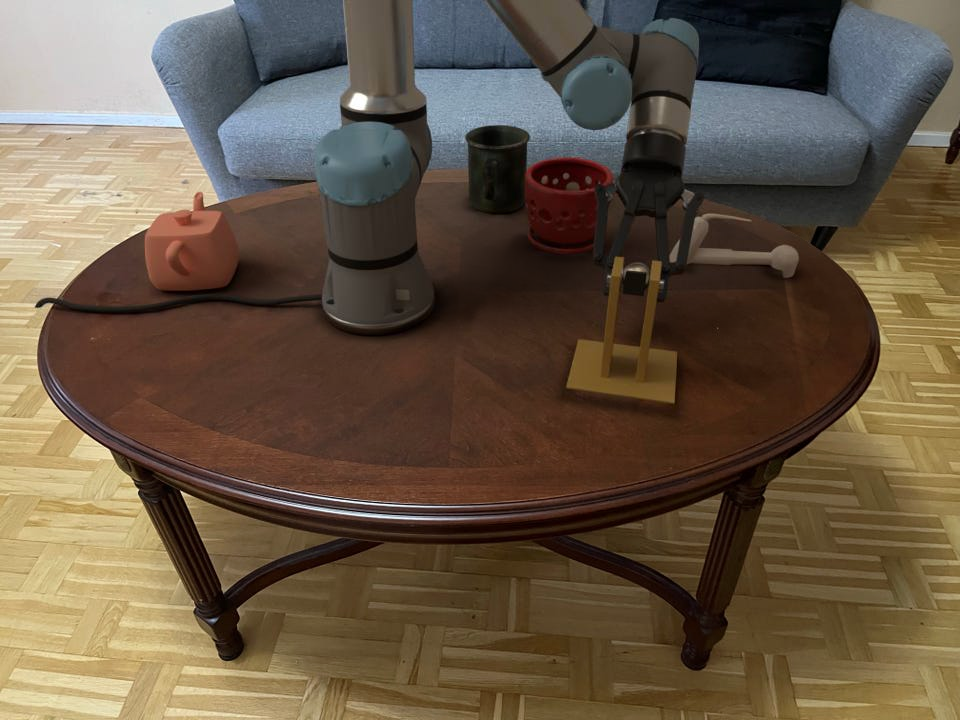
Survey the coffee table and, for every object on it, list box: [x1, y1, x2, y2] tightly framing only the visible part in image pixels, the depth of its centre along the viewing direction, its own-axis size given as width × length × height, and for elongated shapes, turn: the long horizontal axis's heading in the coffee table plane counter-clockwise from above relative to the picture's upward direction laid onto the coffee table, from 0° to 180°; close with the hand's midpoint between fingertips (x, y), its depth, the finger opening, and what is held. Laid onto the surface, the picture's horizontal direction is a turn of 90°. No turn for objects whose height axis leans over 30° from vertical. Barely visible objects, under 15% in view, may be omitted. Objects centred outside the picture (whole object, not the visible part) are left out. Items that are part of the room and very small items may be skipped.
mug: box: [464, 124, 531, 214], centre depth 122 cm, size 11×15×12 cm
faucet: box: [669, 213, 800, 279], centre depth 104 cm, size 4×18×10 cm, turn 83°
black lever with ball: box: [621, 262, 651, 297], centre depth 82 cm, size 13×4×4 cm, turn 166°
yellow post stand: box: [565, 256, 678, 405], centre depth 80 cm, size 10×12×15 cm
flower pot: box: [524, 156, 614, 255], centre depth 109 cm, size 13×13×12 cm
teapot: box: [144, 191, 240, 292], centre depth 103 cm, size 12×18×10 cm, turn 4°
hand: (629, 324), depth 86 cm, fingers open, 4 cm apart
